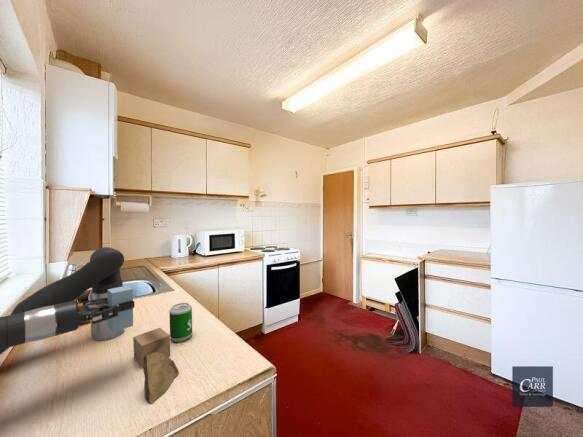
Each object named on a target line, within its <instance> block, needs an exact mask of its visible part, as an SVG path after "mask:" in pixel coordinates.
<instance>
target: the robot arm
mask: <svg viewBox="0 0 583 437" xmlns="http://www.w3.org/2000/svg"><path fill="white" fill-rule="evenodd" d="M89 258H90V259H89V261H88V262H87V263H86V264H84V265H83V266H81V267H80V268H78V270H76V271H74V272H73V273H72V274H69V275H67V276H66V277H65V276H64V277H62V278H61V279H58V280H56V281H53V282H51V283H49V284H47V285H46V286H44V287H42V288H40V289H38V290H37V291H35V292H34V293H32V294H31V295H29V296H28V297H26V298H25V299H23V300H22V301H20V302H19V303H17V305H16V306H15V307H14V309H13V310H12V311H11V313H10V315H4V316H0V355H1V354H4V352H5V351H7V350H8V349H9V348H12V347H17V346H20V345H23V344H27V343H32V342H36V341H37V342H38V341H42V340H45V339H49V338H50V339H51V338H53V337H57V336H60V335H63V334H67V333H71V332H74V331H76V330H78V329H79V327H80V324H81V323H80V322H84V321H87V322H90V330H91V331H90V332H91V336H90V337H91V338H92V339H94V340H96V341H107V340H111V339H114V338H117V337H119V336H121V335H122V334H123V333H124V332H125V329H121V330H118V331H115V332H112V331H111V330H110V328H109V327H108V319H110V318H113V317H116V316H118V313H119V312H121V311H125V310H129V309H133V310H134V308H135V300H134V299H133V300H132V301H128V302H124V303H119V304H114V305H109V304H108V298H107V289H112V288H117V287H123V285H124V284H123V280H122V277H121V276H122V275H121V268H122V266H123V265H124V262H125V256H124V254H123V253H122V252H121V251H120V250H118V249H115V248H113V247H109V246H106V247H100V248H98V249H96V250H94V251H93V253H92V254H91V255H90V257H89ZM90 288H91V292H92V293H91V294H92V297H91V298H92V299H91V300H84V301H82V303H83V305H82V306H79V307H78V304H79V303H78V302H77V301H76V300H77V299H78V298H79V297H81V295H83V294H84V293H86V291H88V290H89V289H90ZM110 311H113V312H110ZM84 323H85V322H84Z"/></svg>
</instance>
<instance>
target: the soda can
mask: <svg viewBox="0 0 583 437" xmlns="http://www.w3.org/2000/svg"><path fill="white" fill-rule="evenodd" d="M168 313H169V335H170V340H172V342H174V343H181V342H184V341H187V340H189V339H190V337H192V335H193V307H192V305H191V304H190V303H188V302H180V303H176V304H174V305H172V306H171V308H170V309H169V312H168Z"/></svg>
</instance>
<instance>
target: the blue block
mask: <svg viewBox="0 0 583 437" xmlns="http://www.w3.org/2000/svg"><path fill="white" fill-rule="evenodd" d="M133 290H134V289H133V288H132V287H130V286H129V285H124V286H123V287H117V288H112V289H107V298H108V304H109V305H114V304H119V303H124V302H128V301H132V300H133V301H134V292H133ZM110 312H113V311H110ZM133 326H134V308H133V309H129V310H125V311H121V312H119V313H118V316H116V317H113V318H110V319H108V327H109V328H110V330H111V331H112V332H115V331H118V330H121V329H124V330H125V329H127V328H130V327H133Z"/></svg>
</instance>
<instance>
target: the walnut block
mask: <svg viewBox="0 0 583 437" xmlns="http://www.w3.org/2000/svg"><path fill="white" fill-rule="evenodd" d="M132 341H133V342H132V343H133V359H134V360H135V362H137V363H138V366H140V367H141V369H143V357H144V356H146V355H149V354H151V353H155V352H158V353H166V354H167V356H168V357H169V358H170V357H171V338H170V333H168V332H166V331H165V330H164V329H162V328H161V327H158V328H155V329H152V330H149V331H147V332H143V333H141V334H137V335H134V336H132Z"/></svg>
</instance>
